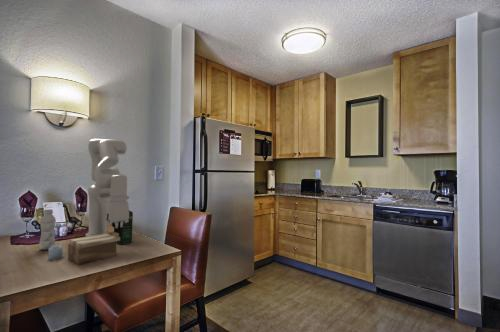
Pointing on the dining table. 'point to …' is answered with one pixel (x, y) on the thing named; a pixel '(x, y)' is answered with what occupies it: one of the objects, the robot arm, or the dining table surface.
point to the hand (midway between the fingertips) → (117, 235)
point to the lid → (96, 239)
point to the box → (91, 252)
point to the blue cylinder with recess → (55, 252)
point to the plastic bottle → (47, 230)
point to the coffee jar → (126, 231)
